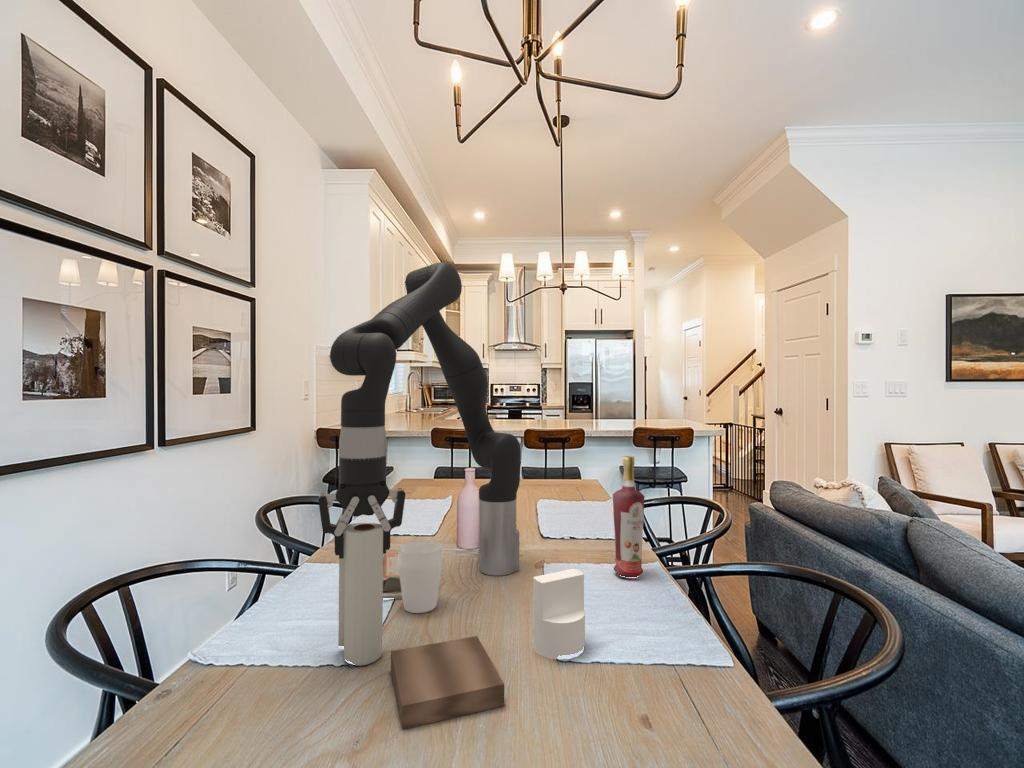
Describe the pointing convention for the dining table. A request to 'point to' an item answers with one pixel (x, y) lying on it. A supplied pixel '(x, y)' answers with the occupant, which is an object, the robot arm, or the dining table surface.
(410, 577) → the cup
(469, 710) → the walnut stand
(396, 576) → the packaged product
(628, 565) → the liquor
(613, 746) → the dining table surface
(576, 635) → the cylinder with rectangular tab
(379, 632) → the paper towel roll
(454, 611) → the dining table surface
